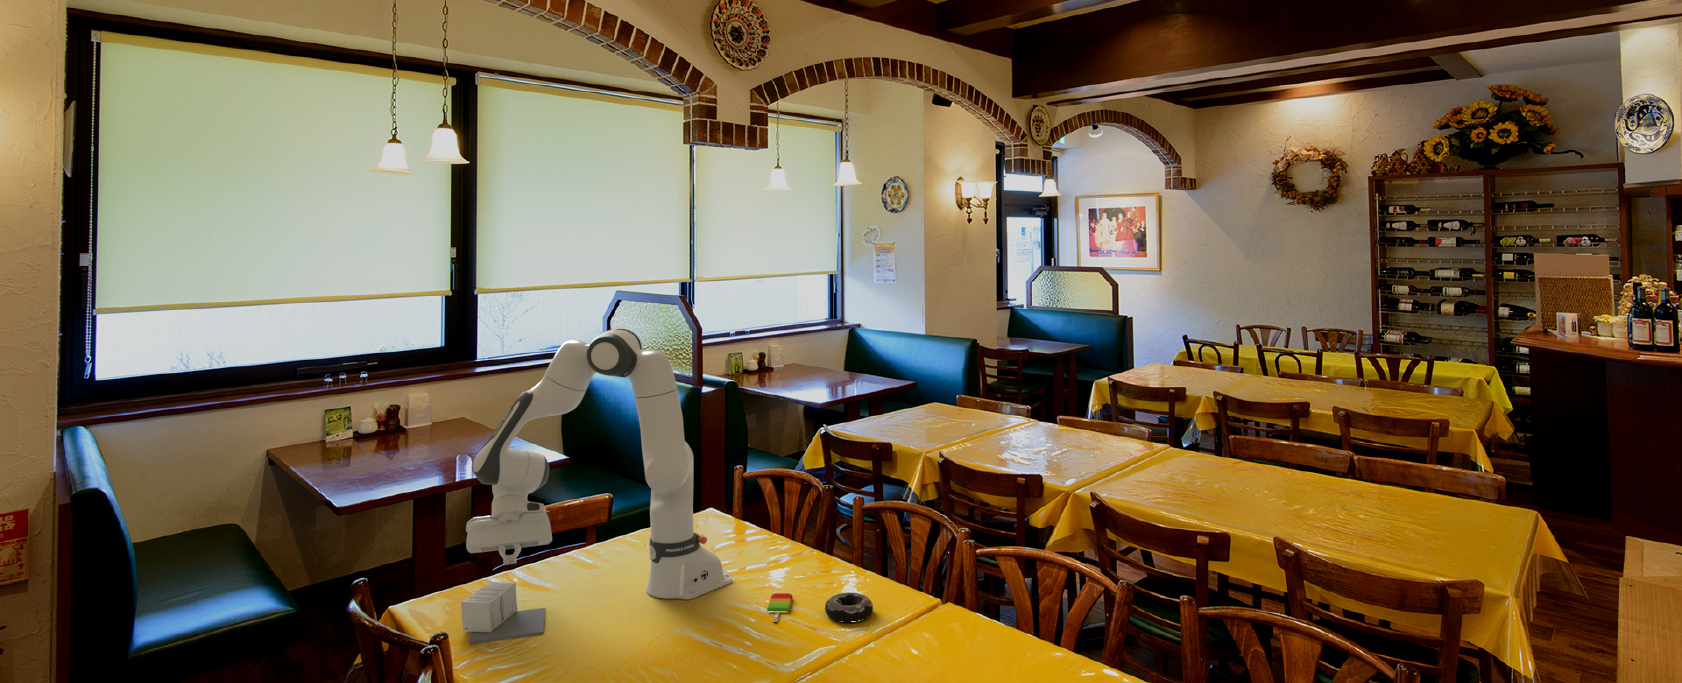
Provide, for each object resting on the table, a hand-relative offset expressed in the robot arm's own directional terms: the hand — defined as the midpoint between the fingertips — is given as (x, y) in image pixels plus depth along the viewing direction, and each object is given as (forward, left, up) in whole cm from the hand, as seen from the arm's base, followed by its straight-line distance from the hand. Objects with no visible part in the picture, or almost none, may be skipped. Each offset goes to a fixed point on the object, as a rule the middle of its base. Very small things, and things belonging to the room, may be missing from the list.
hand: (509, 563), depth 206 cm
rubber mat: (+4, +9, -12) cm, 16 cm away
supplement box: (+2, 0, -8) cm, 8 cm away
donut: (-64, +56, -12) cm, 86 cm away
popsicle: (-52, +43, -13) cm, 68 cm away
